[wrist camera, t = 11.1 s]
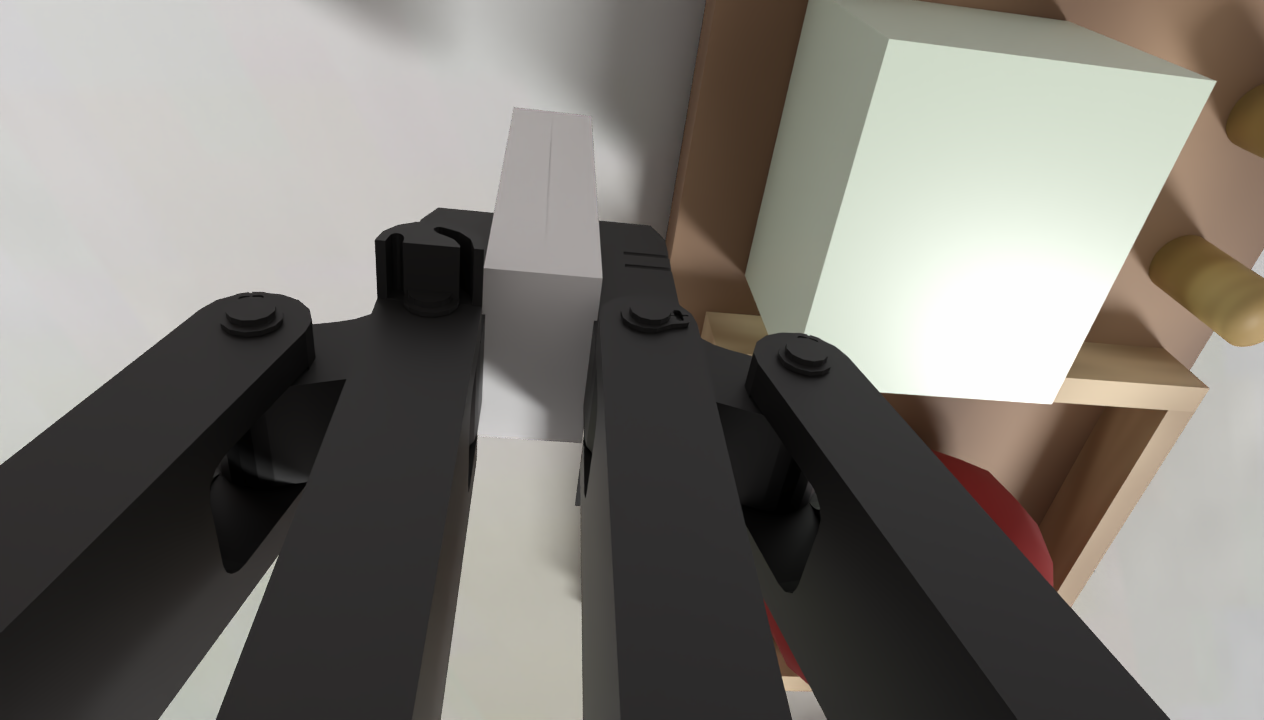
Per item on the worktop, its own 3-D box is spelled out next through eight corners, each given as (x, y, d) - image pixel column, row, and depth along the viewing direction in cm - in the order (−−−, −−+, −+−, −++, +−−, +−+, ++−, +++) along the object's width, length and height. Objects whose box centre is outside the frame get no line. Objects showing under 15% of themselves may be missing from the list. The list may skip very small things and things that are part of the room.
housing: (744, 275, 21) (788, 386, 17) (811, -14, 18) (889, 39, 13) (960, 294, 22) (1051, 404, 18) (1068, 21, 18) (1216, 81, 14)
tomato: (702, 529, 26) (743, 737, 20) (889, 365, 23) (1002, 554, 17) (864, 621, 30) (940, 825, 24) (1048, 488, 27) (1189, 683, 21)
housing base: (602, 614, 30) (607, 718, 27) (729, -139, 17) (771, -128, 14) (1004, 626, 32) (1057, 724, 29) (1387, -37, 19) (1569, -5, 16)
